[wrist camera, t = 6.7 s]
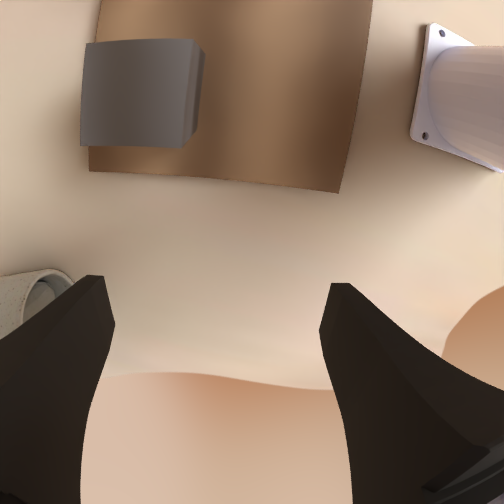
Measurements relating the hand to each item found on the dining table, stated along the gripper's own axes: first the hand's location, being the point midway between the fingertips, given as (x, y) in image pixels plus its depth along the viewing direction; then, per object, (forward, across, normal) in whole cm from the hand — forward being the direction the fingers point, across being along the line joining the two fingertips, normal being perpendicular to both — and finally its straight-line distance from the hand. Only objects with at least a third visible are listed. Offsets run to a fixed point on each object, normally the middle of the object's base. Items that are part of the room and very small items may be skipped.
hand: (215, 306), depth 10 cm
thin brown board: (+9, 0, -13) cm, 16 cm away
